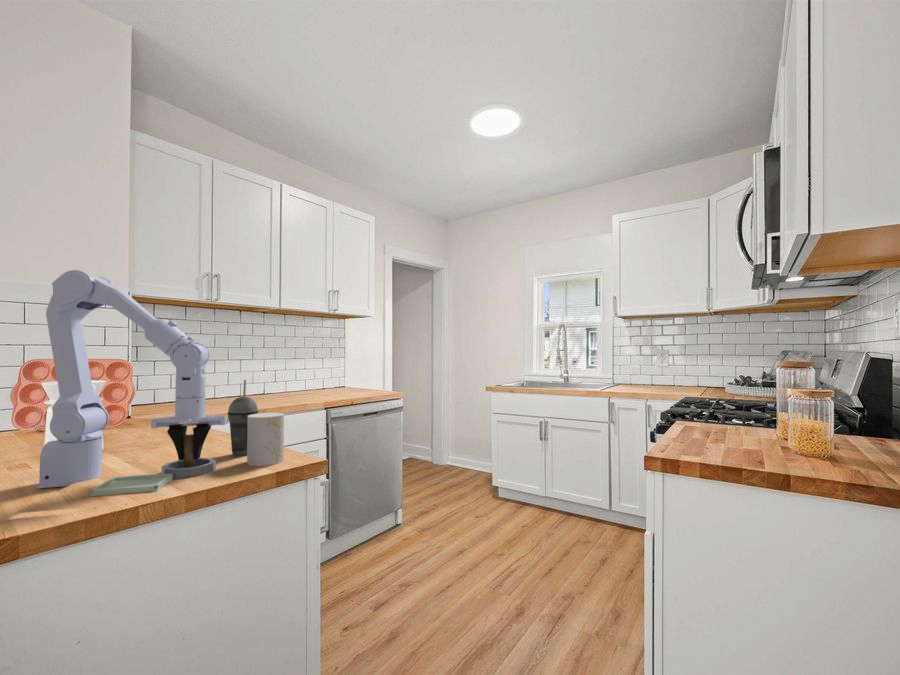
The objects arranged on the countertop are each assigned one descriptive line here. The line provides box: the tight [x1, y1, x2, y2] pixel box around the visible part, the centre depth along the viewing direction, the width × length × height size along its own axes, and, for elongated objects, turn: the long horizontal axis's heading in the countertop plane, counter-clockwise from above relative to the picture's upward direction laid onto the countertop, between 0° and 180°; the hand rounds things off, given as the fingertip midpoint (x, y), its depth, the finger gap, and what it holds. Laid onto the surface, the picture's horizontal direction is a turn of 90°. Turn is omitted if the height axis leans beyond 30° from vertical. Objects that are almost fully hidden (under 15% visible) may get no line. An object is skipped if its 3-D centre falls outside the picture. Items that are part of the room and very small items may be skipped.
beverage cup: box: [226, 379, 259, 457], centre depth 113 cm, size 7×7×20 cm
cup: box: [246, 412, 285, 467], centre depth 105 cm, size 8×8×12 cm
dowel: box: [183, 433, 196, 468], centre depth 97 cm, size 2×2×8 cm
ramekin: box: [160, 457, 217, 480], centre depth 96 cm, size 10×10×3 cm
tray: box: [89, 473, 174, 497], centre depth 86 cm, size 11×9×2 cm
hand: (189, 458), depth 97 cm, fingers closed on dowel, 2 cm apart
